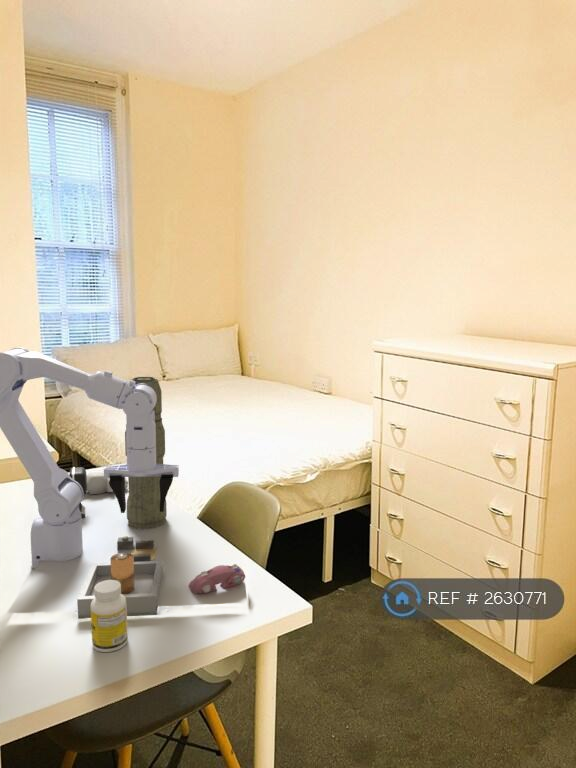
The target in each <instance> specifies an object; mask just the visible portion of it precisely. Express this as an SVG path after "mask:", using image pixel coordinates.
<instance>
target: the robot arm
mask: <svg viewBox="0 0 576 768" xmlns="http://www.w3.org/2000/svg"><path fill="white" fill-rule="evenodd" d="M41 378H45V379H49V380H52V381H55V382H59V383H61V384H65V385H68V386H72V387H74V388H77V389H81V390H83V391H84V392H85V393H86V396H87V398H89V399H90V400H94V401H96V402H98V403H101V404H104V405H106V406H110V407H113V408H116V409H118V410H122V411H123V412H124V414H125V416H126V417H125V419H126V421H125V422H126V424H125V431H126V449H127V456H126V464H119V465H118V464H117V465H110V466H109V465H108V466H107V465H106V466H104V468H103V473H104V479H105V478H110V481H109V485H110V487H111V488H112V490H113V492H112V493H113V494H114V496H115V497H116V500H117V502H118V506H119V511H120V513H121V514H124V513H126V511H127V500H126V488H125V478H128V477H147V476H161V478H160V481H159V482H160V512H163V511H164V503H165V499H166V500H167V495H168V493H169V490H170V488H171V486H172V483H173V480H174V478H179V473H180V467H179V466H180V465H178V464H165V463H163V464H156V424H155V414H154V410H153V408H154V407H155V405H156V402H157V396H156V393H155V391H154V390H153V389H152V388H151V387H150V386H148V385H146V384H144V383H141V384H137V385H135V383H136V382H135V381H133V380H132V379H130V380H131V381H130V380H129V381H128V380H126V379H123V378H120V377H117V376H115V375H113V372H112V371H110V370H104V371H100V370H98V371H95V372H94V373H89V372H86V371H84V370H81V369H79V368H76V367H74V366H72V365H69V364H67V363H65V362H62V361H60V360H57V359H55V358H53V357H51V356H48V355H46V354H43V353H41V352H39V351H34V350H28V349H27V348H25V347H13V348H11V349H10V350H6V351H2V352H0V429H1V431H2V433H3V434H4V437H5V438H6V440H7V441H8V443H9V444H10V446H11V447H12V449H13V451H14V453H15V454H16V456H17V458H18V459H19V461H20V462H21V464H22V466H23V467H24V468H25V471H26V472H27V473H28V475H29V477H30V479H31V480H32V482H33V497H34V499H35V501H36V502H37V506H38V508H37V509H38V510H37V511H38V514H39V517H38V518H37V517H36V518H34V520H33V522H32V523H31V524H32V525H31V529H30V550H31V552H30V553H31V565H30V568H31V569H35V568H36V567H37V566H38V564H39V562H41V561H51V562H52V561H53V562H65V561H70V560H73V559H75V558H78V557H80V556H81V555H82V553H83V552H84V549H83V548H84V545H83V525H82V523H83V522H82V521H83V520H82V519H83V518H81V512H80V510H79V504H80V503H81V504H82V501H83V499H84V495H85V494H84V492H83V489H82V487H81V485H80V484H79V483H78V482H76V481H75V480H73V479H72V478H71V477H70V476H69V474H70V473H69V472H68V471H66V470H65V469H63V468H60V466H58V464H57V462H56V460H55V458H54V457H53V456H52V454H51V452H50V450H49V449H48V447H47V446H46V444H45V442H44V441H43V439H42V437H41V435H40V434H39V432H38V431H37V429H36V426H34V424H33V422H32V421H31V419H30V417H29V415H28V413H26V411H25V409H24V407H23V406H22V403H20V401H19V399H20V396H21V393H22V391H23V388H24V385H25V384H26V382H27V381H30V380H34V379H41Z"/></svg>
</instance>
